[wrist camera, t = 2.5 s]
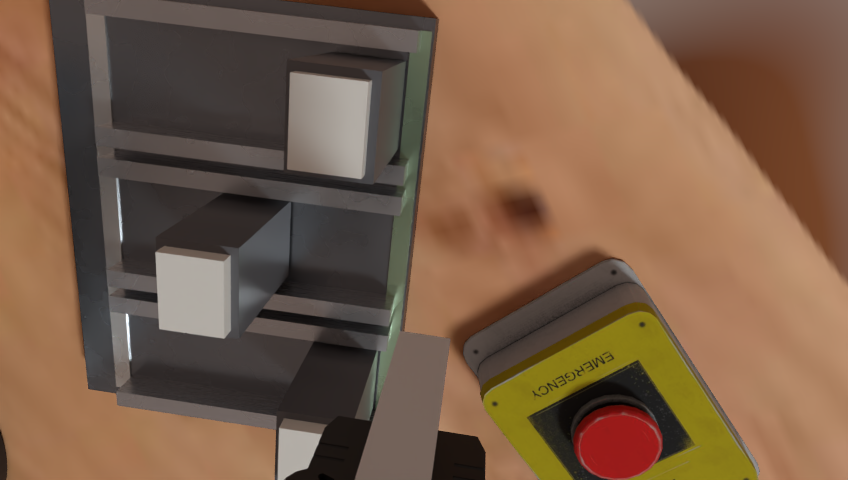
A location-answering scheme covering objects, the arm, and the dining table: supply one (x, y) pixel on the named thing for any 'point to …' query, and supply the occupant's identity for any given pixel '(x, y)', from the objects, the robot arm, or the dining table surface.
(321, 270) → the panel
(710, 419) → the emergency button
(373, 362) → the breaker far
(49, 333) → the dining table surface
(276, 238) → the block
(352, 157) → the block
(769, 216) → the dining table surface
